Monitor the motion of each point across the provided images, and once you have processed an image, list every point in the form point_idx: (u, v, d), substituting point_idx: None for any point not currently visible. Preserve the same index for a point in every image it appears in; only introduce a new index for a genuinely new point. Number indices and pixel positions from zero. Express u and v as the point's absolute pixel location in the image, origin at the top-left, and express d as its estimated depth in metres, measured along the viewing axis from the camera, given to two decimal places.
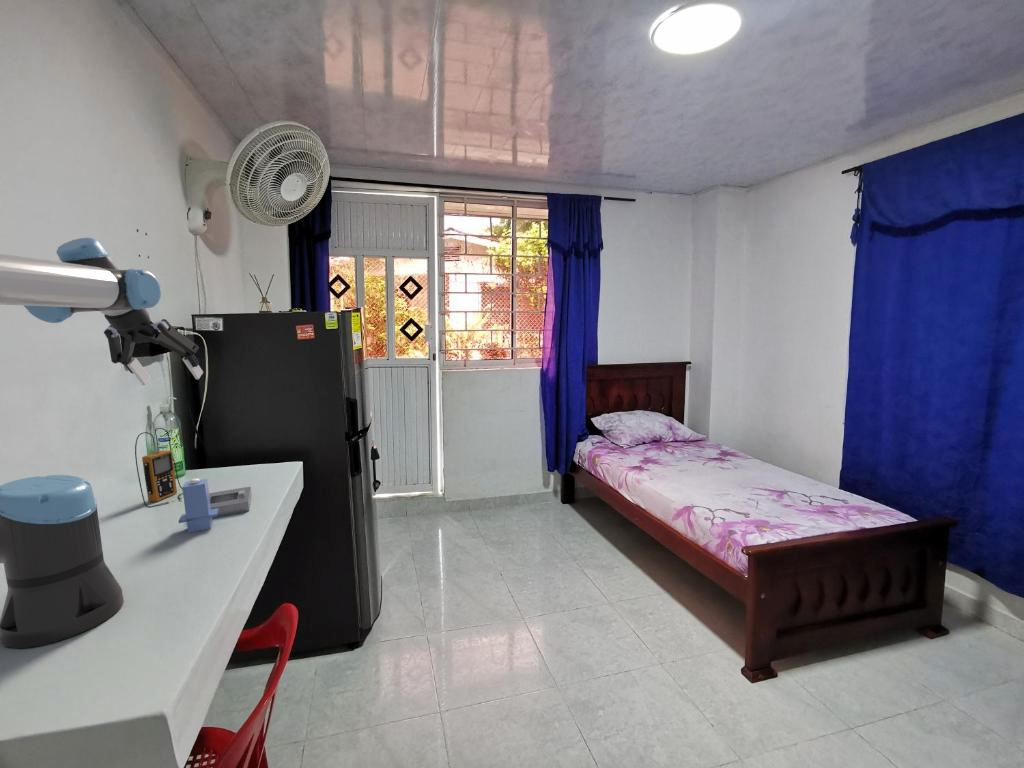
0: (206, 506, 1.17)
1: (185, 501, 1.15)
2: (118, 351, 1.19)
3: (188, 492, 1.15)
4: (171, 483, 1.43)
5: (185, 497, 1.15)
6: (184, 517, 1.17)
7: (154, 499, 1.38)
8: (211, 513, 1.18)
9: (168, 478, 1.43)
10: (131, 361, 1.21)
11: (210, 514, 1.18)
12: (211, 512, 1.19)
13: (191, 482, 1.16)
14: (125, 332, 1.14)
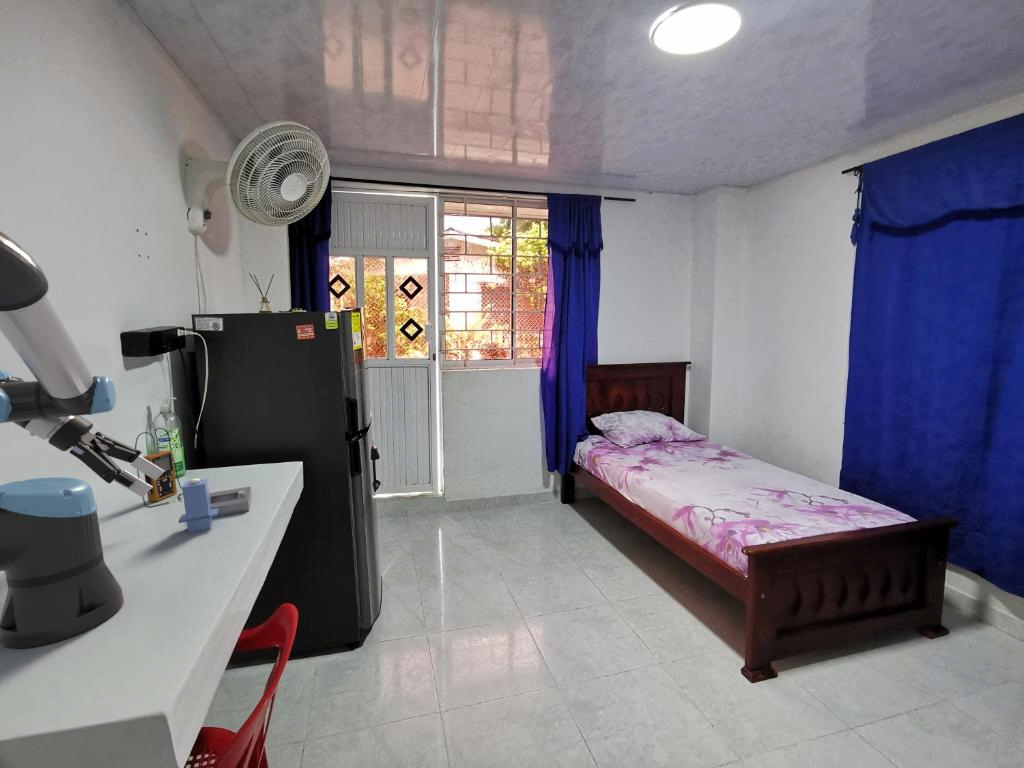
0: (206, 506, 1.17)
1: (185, 501, 1.15)
2: None
3: (189, 492, 1.15)
4: (171, 483, 1.43)
5: (185, 497, 1.15)
6: (184, 517, 1.17)
7: (154, 499, 1.38)
8: (211, 513, 1.18)
9: (168, 478, 1.43)
10: None
11: (210, 514, 1.18)
12: (211, 512, 1.19)
13: (191, 482, 1.16)
14: (89, 441, 1.07)
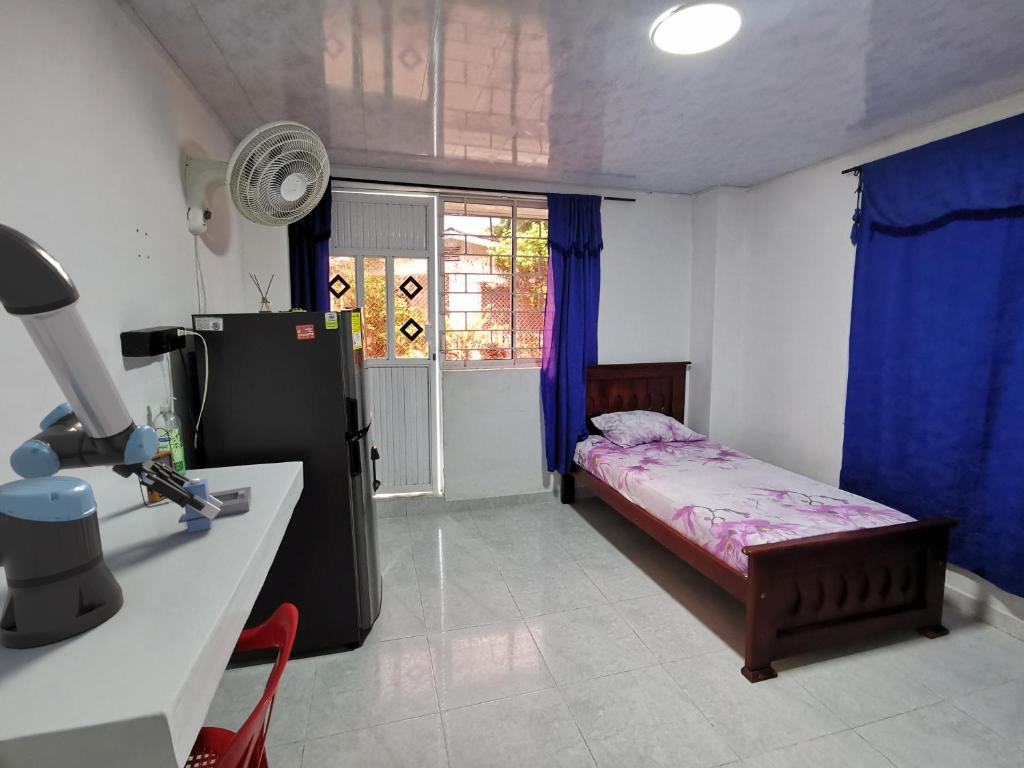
0: None
1: None
2: None
3: (189, 492, 1.15)
4: None
5: None
6: (184, 517, 1.17)
7: (154, 499, 1.38)
8: None
9: None
10: None
11: None
12: None
13: (191, 482, 1.16)
14: (148, 467, 1.11)
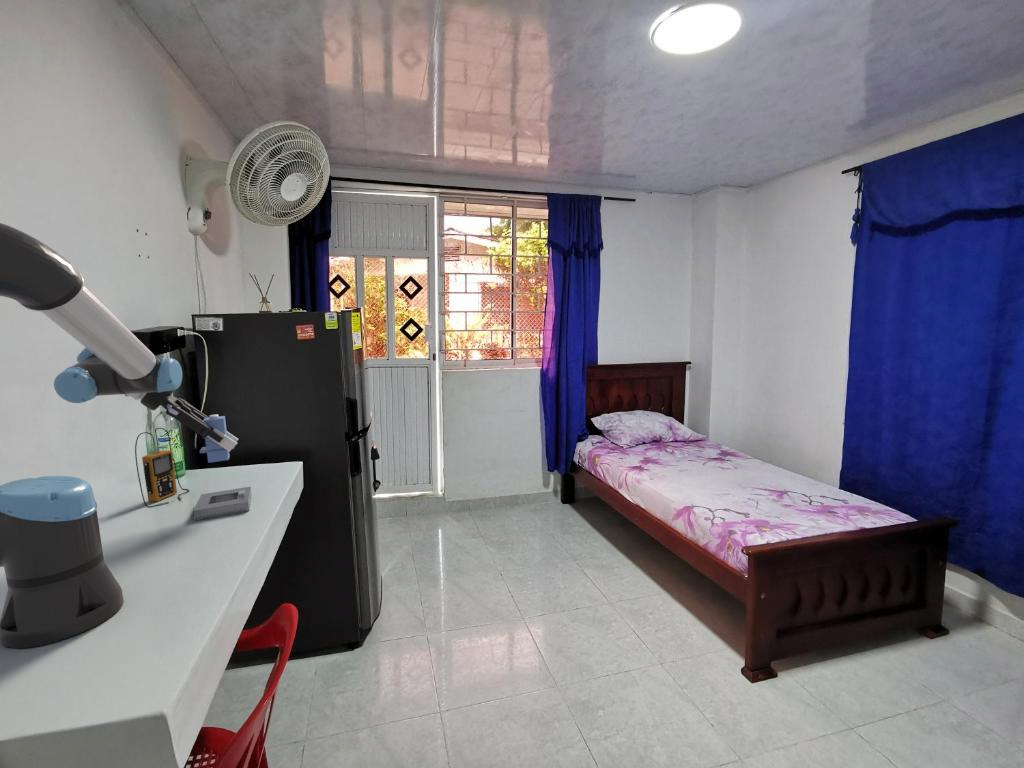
0: None
1: None
2: None
3: (209, 425, 1.27)
4: (171, 483, 1.43)
5: None
6: (204, 449, 1.28)
7: (154, 499, 1.38)
8: None
9: (168, 478, 1.43)
10: None
11: None
12: None
13: (211, 417, 1.28)
14: (172, 401, 1.23)
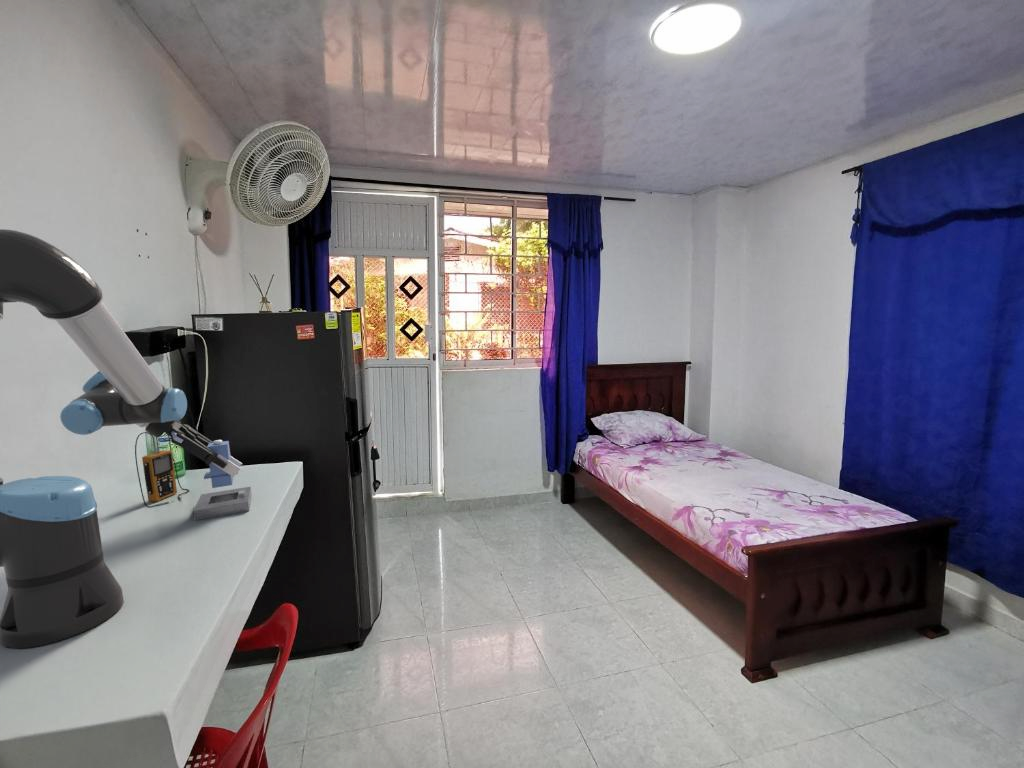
0: None
1: None
2: None
3: (213, 451, 1.28)
4: (171, 483, 1.43)
5: None
6: (208, 474, 1.30)
7: (154, 499, 1.38)
8: None
9: (168, 478, 1.43)
10: None
11: None
12: None
13: (215, 443, 1.29)
14: (177, 428, 1.24)
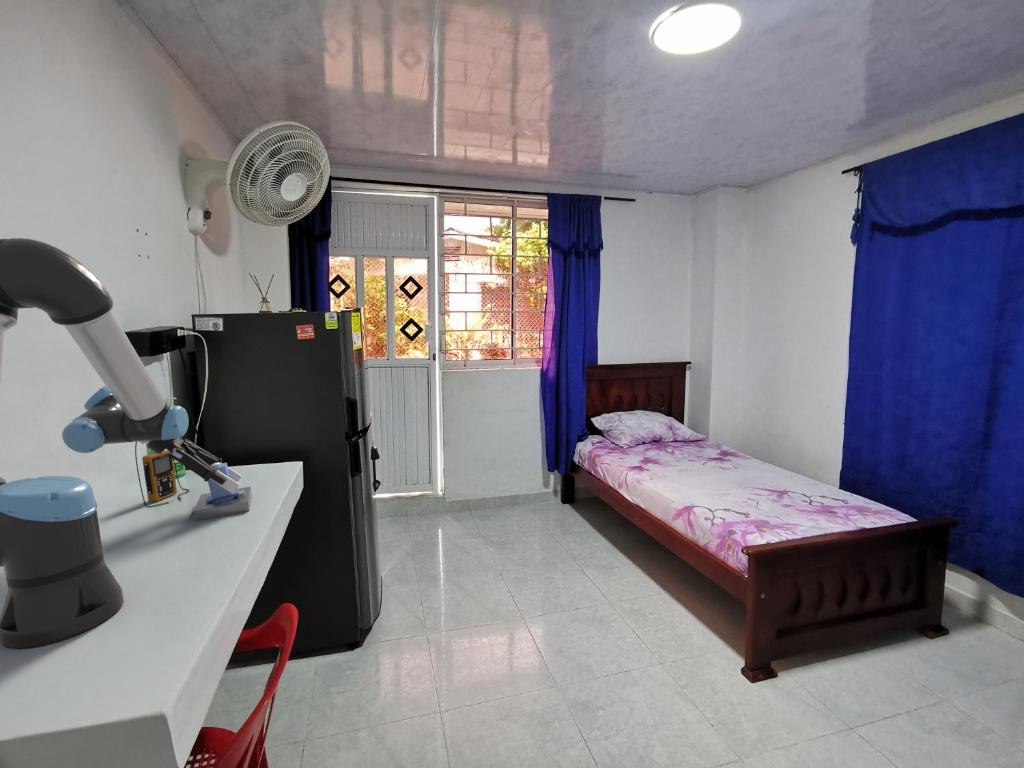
0: None
1: (209, 483, 1.28)
2: None
3: None
4: (171, 483, 1.43)
5: (209, 479, 1.28)
6: (210, 498, 1.30)
7: (154, 499, 1.38)
8: (234, 492, 1.32)
9: (168, 478, 1.43)
10: None
11: (233, 493, 1.31)
12: (234, 491, 1.32)
13: (212, 466, 1.29)
14: (179, 444, 1.24)
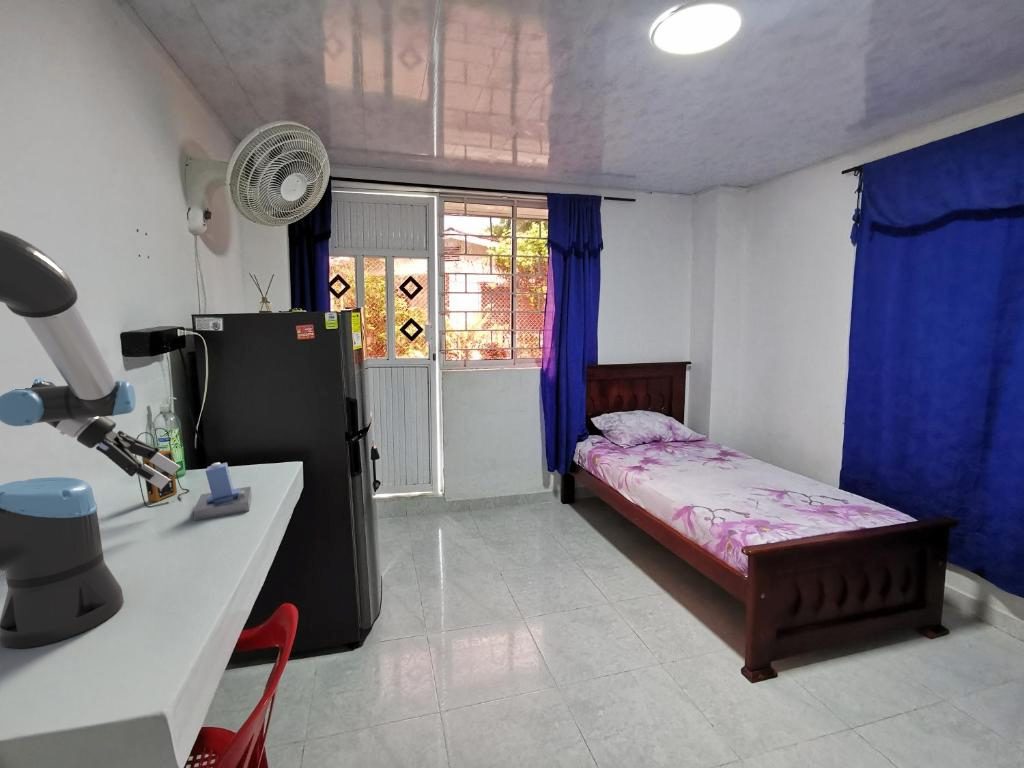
0: (229, 486, 1.30)
1: (210, 483, 1.28)
2: None
3: (212, 474, 1.28)
4: (171, 483, 1.43)
5: (209, 479, 1.28)
6: (211, 497, 1.30)
7: (154, 499, 1.38)
8: (234, 492, 1.32)
9: None
10: None
11: (233, 493, 1.31)
12: (234, 491, 1.32)
13: (213, 466, 1.29)
14: (113, 439, 1.19)
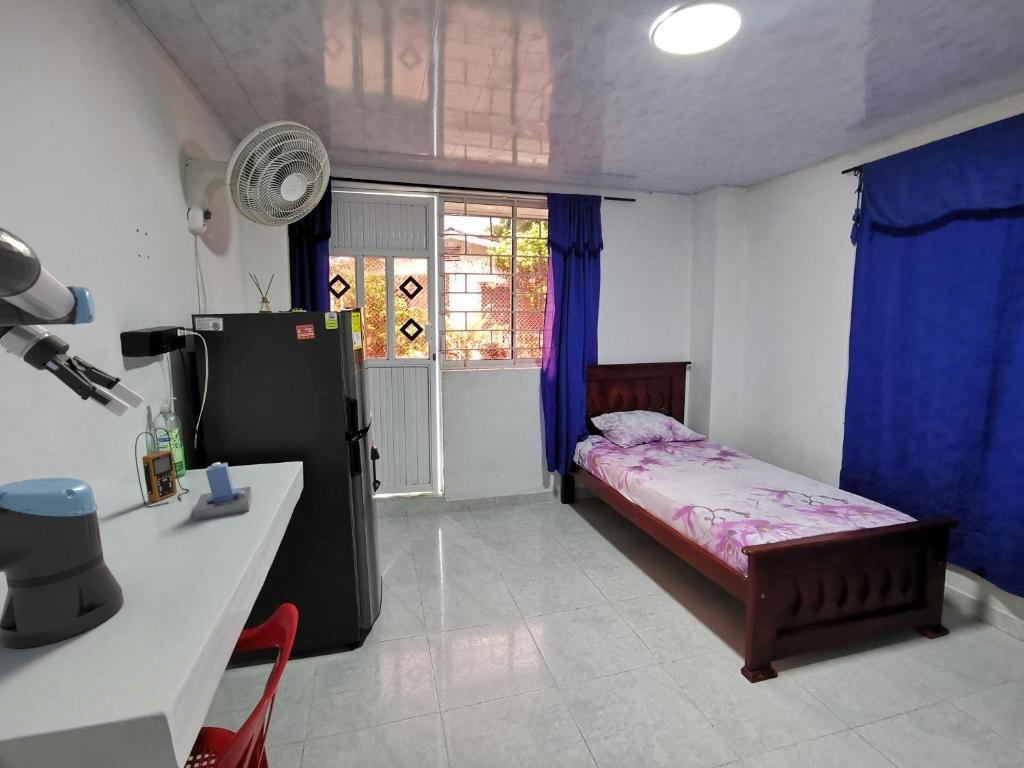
0: (229, 486, 1.30)
1: (210, 483, 1.28)
2: None
3: (212, 474, 1.28)
4: (171, 483, 1.43)
5: (209, 479, 1.28)
6: (211, 497, 1.30)
7: (154, 499, 1.38)
8: (234, 492, 1.32)
9: (168, 478, 1.43)
10: None
11: (233, 493, 1.31)
12: (234, 491, 1.32)
13: (213, 466, 1.29)
14: (65, 360, 1.07)
